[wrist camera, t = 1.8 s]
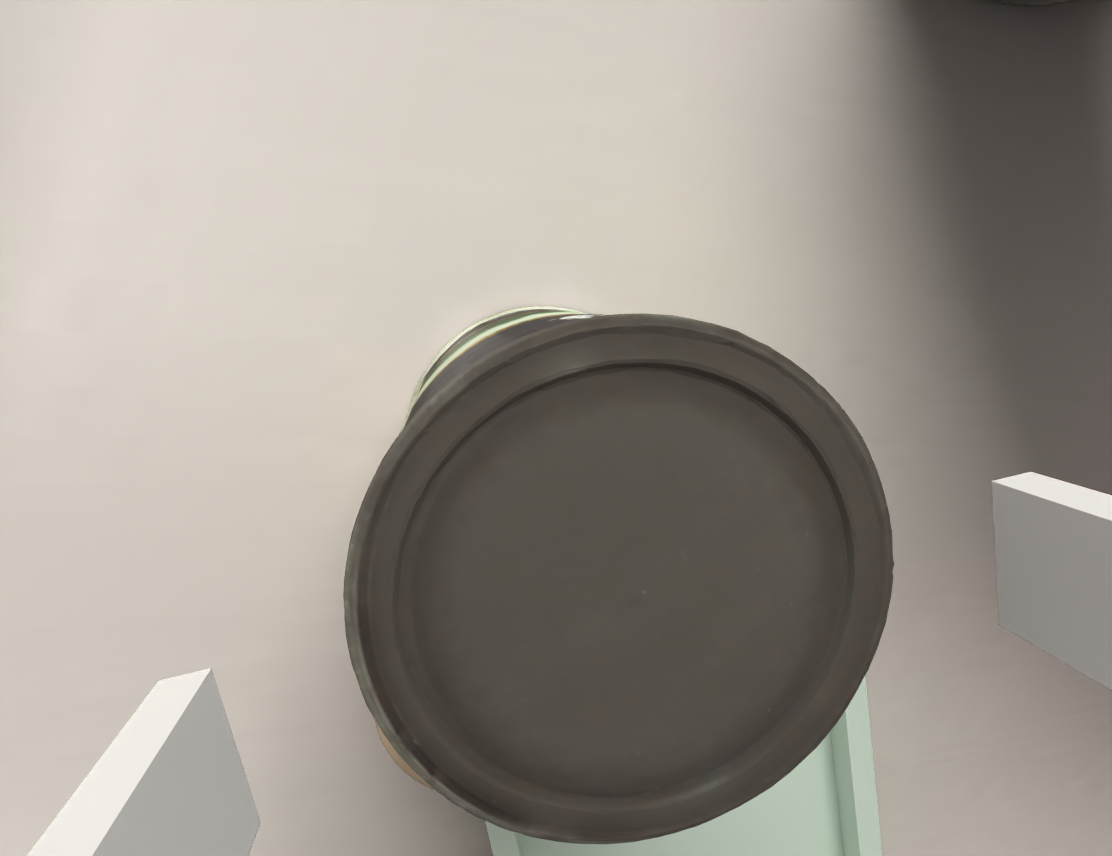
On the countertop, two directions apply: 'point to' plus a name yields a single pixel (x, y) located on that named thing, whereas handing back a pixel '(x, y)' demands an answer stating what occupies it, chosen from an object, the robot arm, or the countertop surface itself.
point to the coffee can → (615, 573)
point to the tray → (768, 810)
